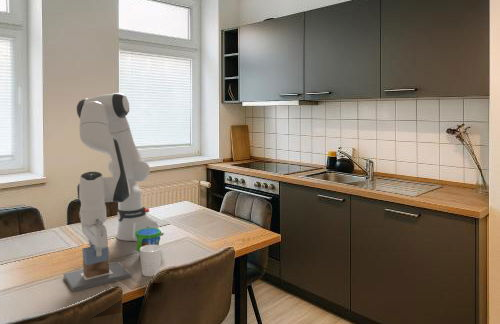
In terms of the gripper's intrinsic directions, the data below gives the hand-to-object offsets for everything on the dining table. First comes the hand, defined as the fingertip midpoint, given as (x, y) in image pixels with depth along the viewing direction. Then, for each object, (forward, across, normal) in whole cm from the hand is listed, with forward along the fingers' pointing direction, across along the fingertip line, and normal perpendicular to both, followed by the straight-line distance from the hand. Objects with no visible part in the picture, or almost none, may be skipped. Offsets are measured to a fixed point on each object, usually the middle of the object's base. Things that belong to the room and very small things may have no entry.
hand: (95, 252), depth 147 cm
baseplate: (+10, 0, 0) cm, 10 cm away
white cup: (+10, -8, -18) cm, 22 cm away
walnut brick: (+8, 0, 0) cm, 8 cm away
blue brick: (+3, 0, 0) cm, 3 cm away
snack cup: (+10, +11, -25) cm, 29 cm away
